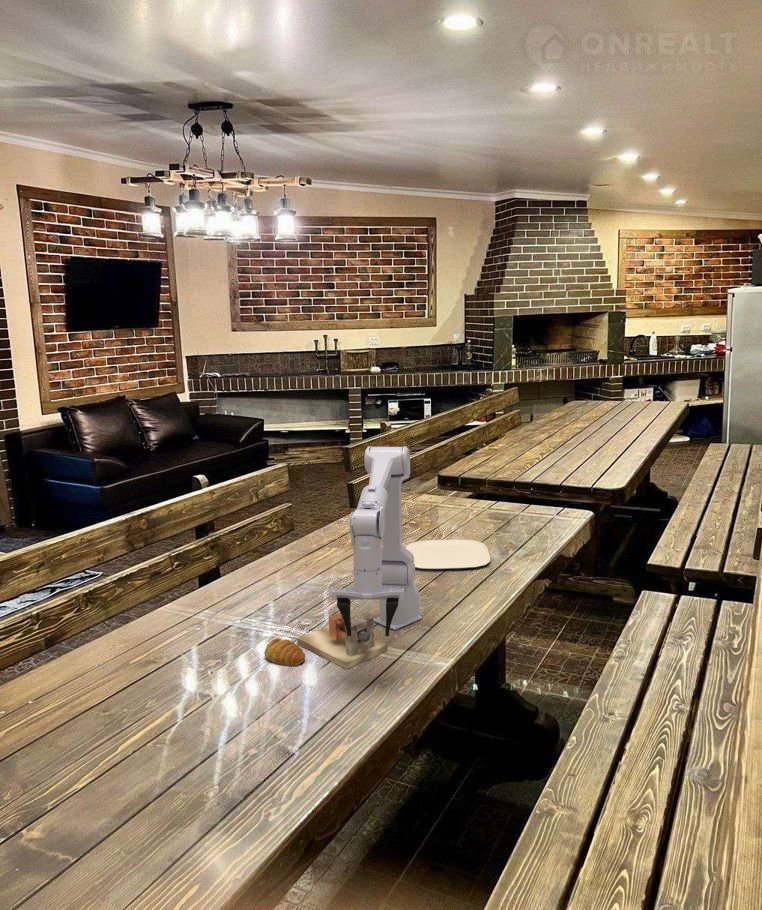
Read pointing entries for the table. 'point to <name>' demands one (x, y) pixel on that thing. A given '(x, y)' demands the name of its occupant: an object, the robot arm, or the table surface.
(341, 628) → the bolt
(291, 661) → the pastry
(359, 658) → the latch board
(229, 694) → the table surface
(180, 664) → the table surface
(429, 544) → the plate
